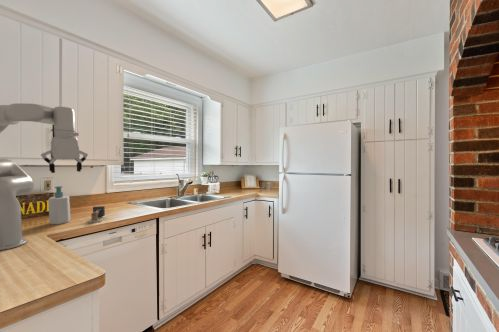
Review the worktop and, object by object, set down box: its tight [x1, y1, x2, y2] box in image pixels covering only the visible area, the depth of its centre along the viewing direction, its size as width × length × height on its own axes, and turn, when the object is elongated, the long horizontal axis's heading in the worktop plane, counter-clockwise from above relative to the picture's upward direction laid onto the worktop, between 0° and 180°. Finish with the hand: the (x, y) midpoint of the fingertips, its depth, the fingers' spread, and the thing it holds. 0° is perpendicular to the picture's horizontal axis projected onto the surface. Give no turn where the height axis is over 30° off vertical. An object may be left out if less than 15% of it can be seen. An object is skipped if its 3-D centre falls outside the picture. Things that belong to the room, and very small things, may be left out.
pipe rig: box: [87, 210, 107, 224], centre depth 150 cm, size 7×10×6 cm
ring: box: [92, 205, 106, 216], centre depth 153 cm, size 6×2×6 cm, turn 103°
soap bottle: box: [47, 185, 71, 225], centre depth 145 cm, size 10×9×22 cm
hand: (66, 172), depth 110 cm, fingers open, 9 cm apart
